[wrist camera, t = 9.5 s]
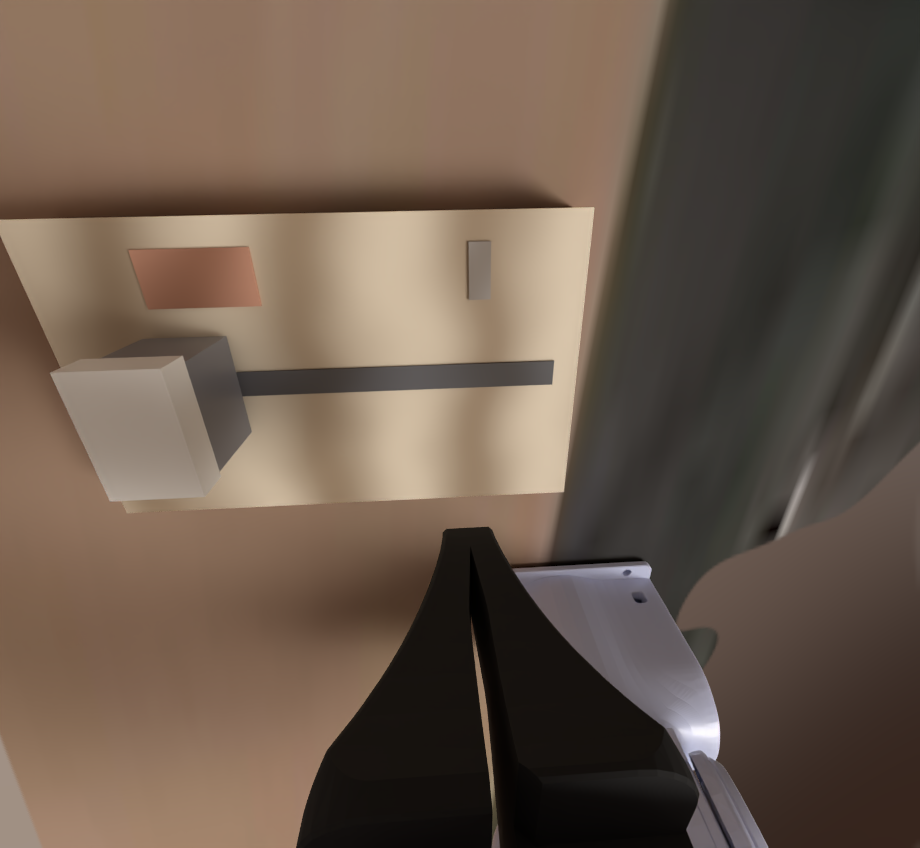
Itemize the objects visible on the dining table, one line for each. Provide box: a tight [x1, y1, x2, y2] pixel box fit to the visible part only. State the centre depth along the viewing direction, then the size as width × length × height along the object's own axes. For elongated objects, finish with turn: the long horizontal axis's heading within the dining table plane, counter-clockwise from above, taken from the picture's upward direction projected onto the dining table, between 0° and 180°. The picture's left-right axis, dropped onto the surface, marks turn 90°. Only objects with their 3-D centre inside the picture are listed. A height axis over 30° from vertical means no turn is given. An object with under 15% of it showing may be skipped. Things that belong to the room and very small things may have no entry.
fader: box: [50, 336, 252, 502], centre depth 15 cm, size 3×4×4 cm
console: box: [0, 207, 595, 513], centre depth 18 cm, size 20×12×3 cm, turn 91°
